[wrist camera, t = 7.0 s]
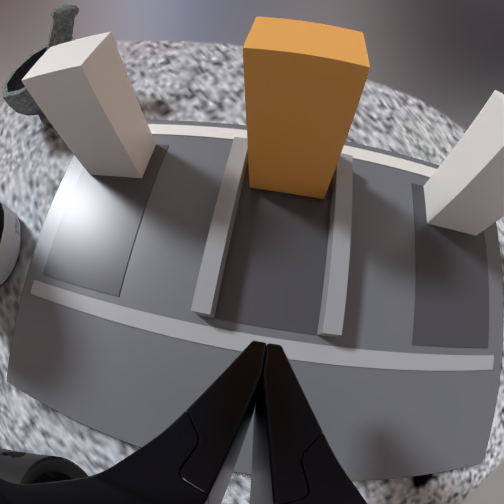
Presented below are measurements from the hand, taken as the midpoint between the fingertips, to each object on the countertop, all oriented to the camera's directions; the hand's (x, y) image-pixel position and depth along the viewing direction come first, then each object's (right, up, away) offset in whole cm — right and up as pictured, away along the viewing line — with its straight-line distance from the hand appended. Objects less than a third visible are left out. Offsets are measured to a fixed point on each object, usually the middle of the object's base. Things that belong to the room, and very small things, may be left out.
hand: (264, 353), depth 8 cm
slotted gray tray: (+1, 0, +11) cm, 11 cm away
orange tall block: (+2, +8, +10) cm, 13 cm away
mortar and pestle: (-22, +20, +18) cm, 35 cm away
